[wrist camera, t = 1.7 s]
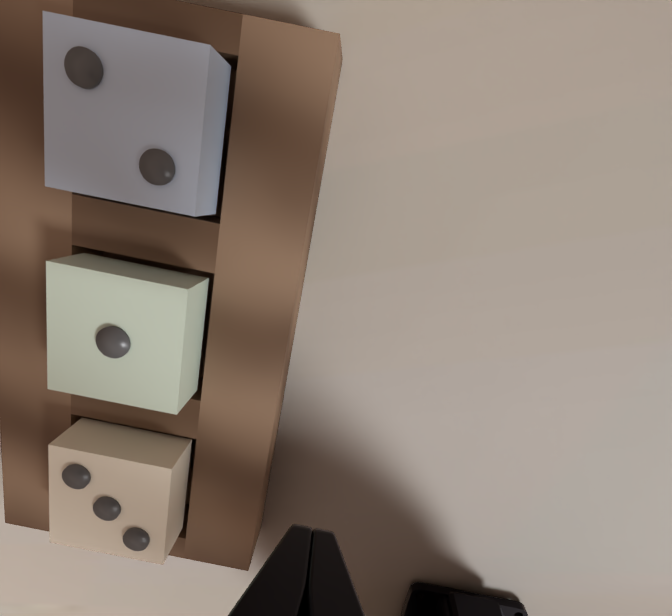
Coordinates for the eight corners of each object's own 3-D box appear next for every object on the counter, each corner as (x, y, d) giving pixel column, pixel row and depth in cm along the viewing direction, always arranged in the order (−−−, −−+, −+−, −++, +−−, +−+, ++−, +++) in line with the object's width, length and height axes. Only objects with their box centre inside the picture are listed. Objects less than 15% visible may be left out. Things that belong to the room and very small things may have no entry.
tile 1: (197, 389, 17) (175, 416, 15) (82, 367, 17) (44, 390, 15) (209, 277, 16) (186, 290, 13) (84, 252, 15) (42, 261, 13)
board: (260, 529, 22) (248, 570, 19) (44, 486, 21) (5, 522, 19) (342, 59, 15) (340, 33, 13) (36, -3, 15) (-25, -41, 13)
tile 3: (182, 527, 19) (161, 568, 17) (80, 507, 19) (46, 545, 17) (191, 439, 18) (170, 471, 16) (82, 417, 18) (45, 446, 16)
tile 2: (215, 214, 15) (192, 216, 13) (85, 187, 15) (41, 186, 13) (231, 66, 13) (208, 43, 11) (87, 37, 13) (38, 7, 11)
